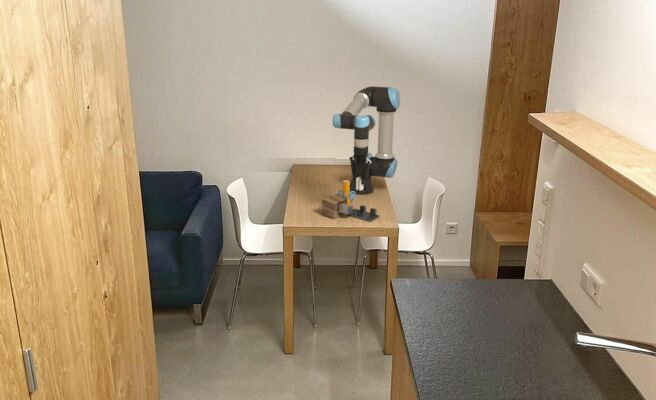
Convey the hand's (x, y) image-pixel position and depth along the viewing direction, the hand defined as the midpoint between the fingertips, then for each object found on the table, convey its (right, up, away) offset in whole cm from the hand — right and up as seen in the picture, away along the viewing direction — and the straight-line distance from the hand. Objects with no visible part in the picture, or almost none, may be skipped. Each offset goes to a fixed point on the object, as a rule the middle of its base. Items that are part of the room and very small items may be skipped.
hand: (359, 189), depth 324 cm
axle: (-11, -11, +13) cm, 20 cm away
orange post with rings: (-7, -9, +29) cm, 31 cm away
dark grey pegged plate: (+2, -14, +15) cm, 20 cm away
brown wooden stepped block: (-13, -14, +16) cm, 25 cm away
